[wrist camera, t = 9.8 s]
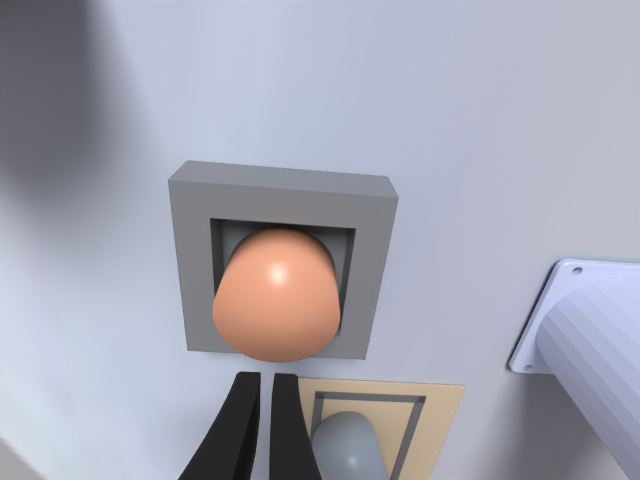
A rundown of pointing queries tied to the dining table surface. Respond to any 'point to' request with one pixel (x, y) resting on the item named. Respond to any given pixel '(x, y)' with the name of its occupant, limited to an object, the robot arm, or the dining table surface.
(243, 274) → the button
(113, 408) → the dining table surface
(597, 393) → the robot arm
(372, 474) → the squeeze tube
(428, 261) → the dining table surface
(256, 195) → the button base
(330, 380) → the tan rectangular board
